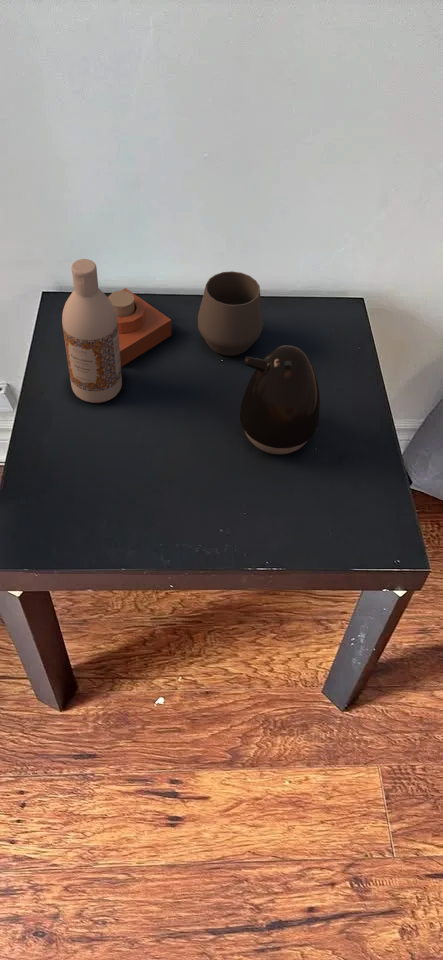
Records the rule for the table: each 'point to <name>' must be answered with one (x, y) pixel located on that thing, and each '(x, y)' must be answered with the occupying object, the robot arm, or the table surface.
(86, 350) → the bath foam
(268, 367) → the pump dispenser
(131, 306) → the tan short cylinder
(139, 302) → the button housing
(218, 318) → the cup
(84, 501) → the table surface
